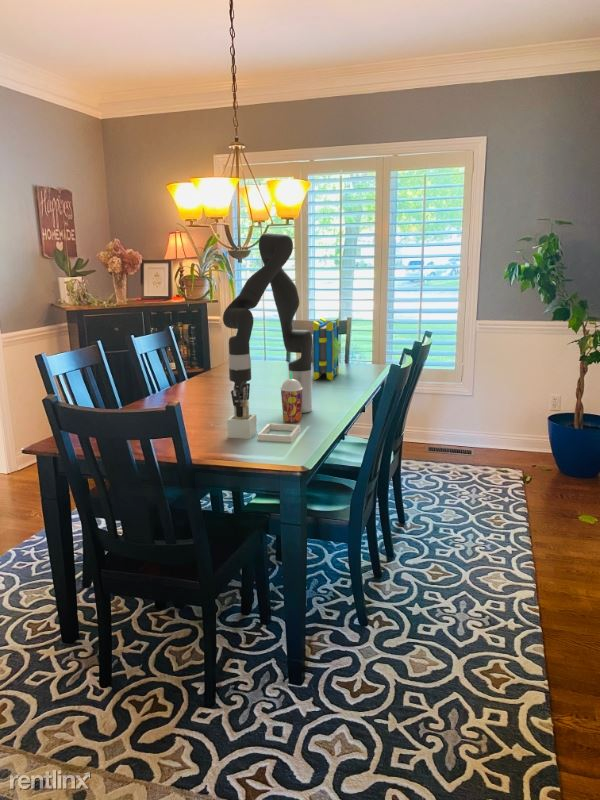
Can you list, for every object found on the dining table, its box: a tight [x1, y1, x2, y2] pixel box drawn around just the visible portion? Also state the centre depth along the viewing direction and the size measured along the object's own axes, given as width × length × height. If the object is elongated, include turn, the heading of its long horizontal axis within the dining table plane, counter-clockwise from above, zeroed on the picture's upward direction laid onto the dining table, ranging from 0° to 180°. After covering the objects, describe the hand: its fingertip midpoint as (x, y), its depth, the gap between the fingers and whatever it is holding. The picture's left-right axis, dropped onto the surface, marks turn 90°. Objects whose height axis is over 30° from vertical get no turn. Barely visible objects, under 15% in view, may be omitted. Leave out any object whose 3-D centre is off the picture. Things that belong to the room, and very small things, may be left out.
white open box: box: [226, 413, 258, 440], centre depth 206 cm, size 8×8×8 cm
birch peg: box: [233, 400, 250, 420], centre depth 205 cm, size 4×4×12 cm
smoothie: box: [280, 371, 303, 424], centre depth 222 cm, size 8×8×20 cm
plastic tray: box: [256, 423, 302, 443], centre depth 206 cm, size 14×12×3 cm
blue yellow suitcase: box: [312, 317, 341, 382], centre depth 306 cm, size 14×23×30 cm, turn 166°
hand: (241, 414), depth 205 cm, fingers closed on birch peg, 4 cm apart
